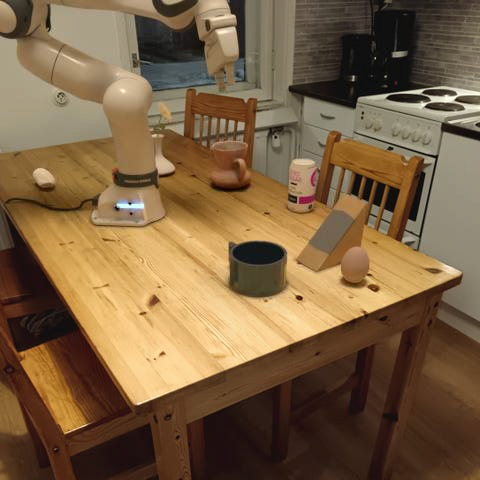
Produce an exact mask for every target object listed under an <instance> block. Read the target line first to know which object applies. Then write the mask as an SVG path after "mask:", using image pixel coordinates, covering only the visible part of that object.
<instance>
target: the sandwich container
mask: <svg viewBox="0 0 480 480" xmlns="http://www.w3.org/2000/svg"><path fill="white" fill-rule="evenodd" d="M367 211H368V203H367V202H366V201H364V200H362V199H359V198H358V197H355V196H352V195H350V194H347V193H345V192H343V193H342V194H341V196H340V197H339V199H338V201H337V202H336V203H335V205H334V207H333V208H332V209H331V210H330V212H329V214H328V215H327V216H326V218H325V219H324V220H323V222H322V223H321V224H320V226H319V227H318V228H317V229H316V232H315V233H314V234H313V236H312V237H311V238H310V239H309V241H308V242H307V244H305V246H304V248H303V249H302V251H300V253H299V255H298V256H297V257H296V258H295V260H296V261H298V262H299V263H300V264H302V265H304V266H305V267H307V268H309V269H311V270H313V271H315V272H320V271H322V270H326V269H328V268H333V267H335V266H337V265H341V262H342V259H343V257H344V255H345V253H346V252H347V251H348V250H349V249H351V248H352V247H356V246H357V247H361V248H362V242H363V235H364V230H365V229H364V228H365V222H366V216H367Z"/></svg>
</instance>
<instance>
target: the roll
mask: <svg viewBox="0 0 480 480" xmlns="http://www.w3.org/2000/svg"><path fill="white" fill-rule="evenodd" d="M32 179H33V181H34V182H36V184H37V185H38V186H39V187H41V188H42V189H50V188H51V189H52V188H53V187H54V186H56V179H55V177H54V176H53V174H52V173H51V172H50V171H48V170H47V169H46V168H43V167H37V168H36V169H34V171H33V172H32Z"/></svg>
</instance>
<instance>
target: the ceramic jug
mask: <svg viewBox="0 0 480 480" xmlns="http://www.w3.org/2000/svg"><path fill="white" fill-rule="evenodd" d="M248 149H249V145H248V143H247V142H244V141H239V140H238V141H237V140H225V141H217V142H214V143H213V145H212V151H213V155H214V158H215V161H216V163H217V165H218V166H217V167H216V168H215V169H213V170H212V172H211V173H210V175H209V180H210V182H211V183H212V184H213V185H214V186H216V187H218V188H221V189H228V190H229V189H231V190H234V189H239V188H243V187H245V186H247V185H248V184H249V183H250V182H251V179H252V175H251V173H250V171H249V170H248V169H247V164H246V161H245V160H246V157H247V154H248Z"/></svg>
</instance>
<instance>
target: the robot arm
mask: <svg viewBox="0 0 480 480" xmlns="http://www.w3.org/2000/svg"><path fill="white" fill-rule="evenodd" d="M51 5H57V6H61V7H67V8H74V9H82V10H97V11H109V12H110V11H111V12H119V13H124V14H129V15H134V16H137V17H142V18H148V19H152V20H155V21H157V22H159V23H161V24H162V25H163V26H165V27H166V28H168V29H169V30H171V31H173V32H175V33H185V32H188V31H189V30H191V29H192V28H193V27H194V26H195V25H196V28H197V34H198V39H199V40H200V41H201V42H204V43H205V44H204V57H205V63H206V69H207V73H208V76H209V77H214V80H215V83H216V85H217V88H218V92H219V93H223V92H225V91H227V86H228V87H230V86H234V85H235V84H236V78H235V63H236V62H237V61H238V60H239V58H240V49H239V40H238V33H237V28H236V27H237V25H238V22H237V17H236V15H235V14H232V13H231V8H230V5H229V4H228V0H0V37H2V38H4V39H7V40H16V52H15V53H16V59H17V61H18V64H19V65H21V67H22V68H24V70H26V71H28V72H29V73H31V74H32V75H34V76H35V77H36V78H38V79H40V80H41V81H43V82H45V83H47V84H48V85H51V86H53V87H55V88H57V89H59V90H61V91H64V92H65V93H67V94H70V95H72V96H73V97H75V98H77V99H80V100H82V101H88V102H93V103H95V104H100V105H102V110H103V113H104V115H105V117H106V119H107V123H108V126H109V130H110V132H111V135H112V140H113V143H114V148H115V156H116V162H117V167H113V168H111V169H112V170H111V178H112V179H111V180H112V183H111V184H110V185H109V186H107V188H105V190H103V191H102V192H101V193H98V194H96V195H95V196H93V197H92V198H86V199H84V200H83V201H81V202H80V204H79V205H77V206H75V207H69V208H67V207H57V206H56V207H54V206H50V205H48V204H46V203H42V202H41V201H38V200H35V199H30V198H22V197H11V198H8V199H7V200H5V201H4V204H8V203H9V202H11V201H23V202H29V203H34V204H38V205H40V206H42V207H45V208H48V209H50V210H54V211H65V212H66V211H67V212H69V211H76V210H79V209H81V208H83V205H84V204H86V203H88V202H91V205H92V207H96V208H95V209H94V210H93V211H92V213H91V214H90V215H91V217H90V219H91V222H92V224H94V225H96V226H118V227H119V226H120V227H145V226H146V225H148V224H150V223H152V222H153V223H154V222H156V221H159V220H161V219H163V218H165V216H166V209H165V208H164V204H163V202H162V196H161V193H160V175H159V174H158V169H157V168H156V162H155V155H156V150H155V144H154V141H153V139H152V136H151V135H152V133H151V128H150V123H149V118H148V113H149V112H148V111H149V110H150V109H151V107H152V105H153V102H154V92H153V87H152V85H151V84H150V82H149V81H148V80H147V79H146V78H145V77H144V76H142V75H140V74H137V73H134V72H131V71H129V70H126V69H124V68H122V67H119V66H117V65H114V64H111V63H108V62H106V61H102V60H100V59H98V58H96V57H93V56H91V55H88V54H86V53H85V52H83V51H81V50H78V49H77V48H76V47H73V46H72V45H69V44H67V43H65V42H63V41H61V40H59V39H57V38H55V37H53V36H52V35H51V34H50V32H51V31H52V21H51V16H52V15H51V14H52V8H51ZM224 72H225V76H226V77H225V79H224Z"/></svg>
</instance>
